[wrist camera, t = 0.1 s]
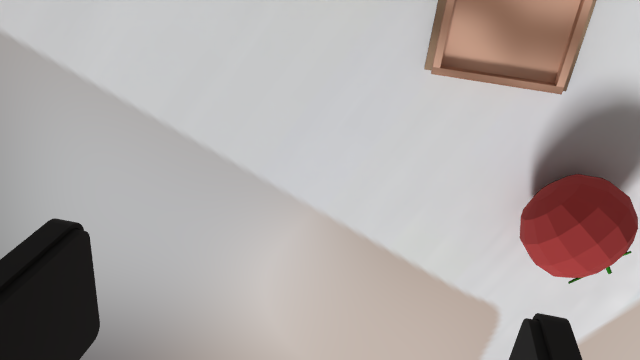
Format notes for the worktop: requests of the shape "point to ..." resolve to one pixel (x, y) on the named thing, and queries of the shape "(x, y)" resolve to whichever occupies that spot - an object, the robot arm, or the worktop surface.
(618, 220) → the tomato
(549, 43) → the board
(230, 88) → the worktop surface
